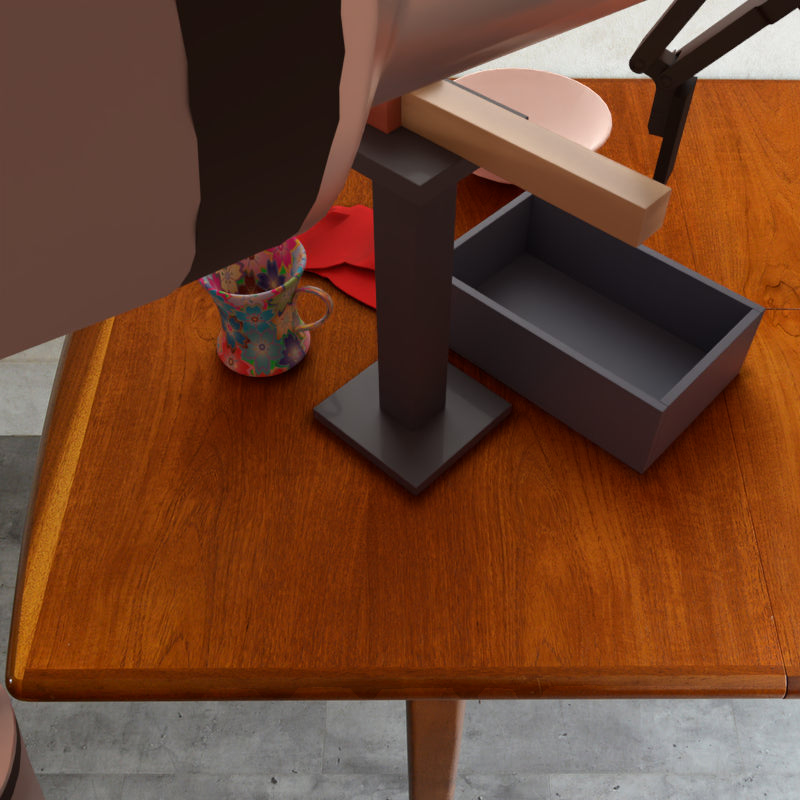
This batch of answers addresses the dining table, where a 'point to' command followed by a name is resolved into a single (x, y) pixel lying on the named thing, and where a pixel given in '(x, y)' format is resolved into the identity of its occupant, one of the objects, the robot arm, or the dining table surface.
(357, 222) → the cloth
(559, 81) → the bowl
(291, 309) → the mug
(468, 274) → the bin
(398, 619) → the dining table surface
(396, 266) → the stand
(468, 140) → the mallet
